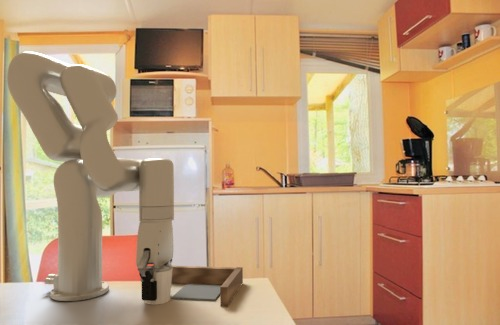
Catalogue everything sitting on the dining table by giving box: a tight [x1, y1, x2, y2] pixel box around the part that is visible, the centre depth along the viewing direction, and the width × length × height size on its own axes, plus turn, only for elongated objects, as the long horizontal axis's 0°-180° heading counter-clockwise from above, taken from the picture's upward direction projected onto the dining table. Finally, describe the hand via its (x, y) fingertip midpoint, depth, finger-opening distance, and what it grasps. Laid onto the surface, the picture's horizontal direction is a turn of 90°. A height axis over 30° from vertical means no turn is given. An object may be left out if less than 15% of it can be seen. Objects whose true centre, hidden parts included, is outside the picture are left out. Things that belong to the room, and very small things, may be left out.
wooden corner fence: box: [171, 265, 244, 308], centre depth 88 cm, size 19×17×4 cm
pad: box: [170, 283, 222, 302], centre depth 87 cm, size 10×10×1 cm
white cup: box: [143, 265, 173, 305], centre depth 83 cm, size 7×7×7 cm
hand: (157, 293), depth 82 cm, fingers open, 7 cm apart
